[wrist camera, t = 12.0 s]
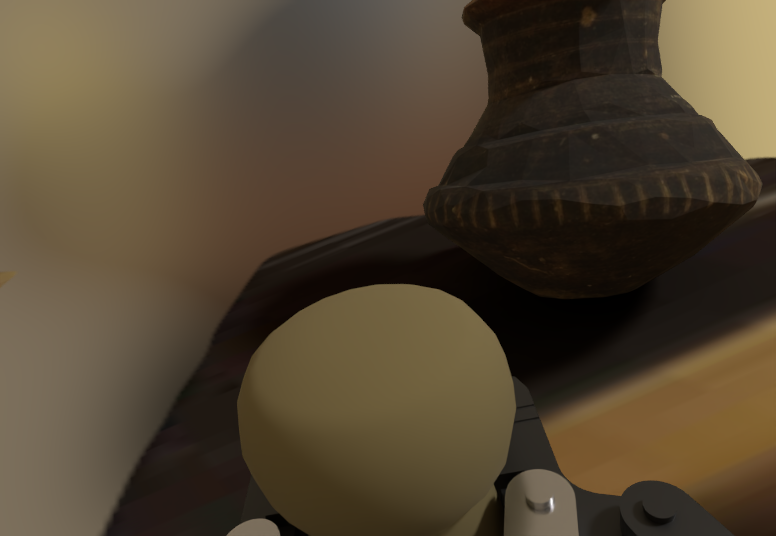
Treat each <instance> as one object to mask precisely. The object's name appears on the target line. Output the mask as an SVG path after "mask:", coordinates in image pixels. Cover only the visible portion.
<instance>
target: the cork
mask: <svg viewBox="0 0 776 536" xmlns="http://www.w3.org/2000/svg"><path fill="white" fill-rule="evenodd" d="M237 408H238V420H239V432H240V440H241V448H242V456H243V458H244V460H245V462H246V464H247V466H248V468H249V470H250V472H251V474H252V476H253V478H254V480H255V481H256V483H257V484H258V486H259V487H260V489H261V490H262V492H263V493H264V495H265V497H266V498H267V500H268V501H269V503H270V504H271V506H272V507H273V508H274V509H275V510H276V511H277V512H278V513H279V514H280V515H281V516H283V517H284V518H285V519H286V520H287V521H288V522H289V523H290V524H292V525H293V526H295V527H297V528H298V529H300V530H302V531H303V532H305V533H306V534H308V536H504V514H505V511H504V508H503V506H502V503H501V501H500V498H499V496H498V493H497V491H496V488H495V486H494V482H495V480H496V479H497V477H498V476H499V474H500V472H501V471H502V469H503V468H504V466H505V464H506V460H507V455H508V450H509V445H510V440H511V434H512V429H513V423H514V418H515V412H516V401H515V393H514V385H513V380H512V377H511V373H510V370H509V366H508V363H507V359H506V356H505V353H504V351H503V349H502V347H501V345H500V343H499V341H498V339H497V337H496V335H495V333H494V332H493V331H492V330H491V329H490V328H489V327H488V326H487V325H486V323H485V322H484V321H483V320H482V319H481V318H480V317H479V316H478V315H477V314H476V313H475V312H474V311H473V310H472V309H471V308H470V307H469V306H468V305H466V304H465V303H464V302H463V301H462V300H460V299H458V298H456V297H454V296H452V295H450V294H448V293H446V292H443V291H441V290H439V289H433V288H428V287H422V286H417V285H410V284H377V285H372V286H366V287H361V288H355V289H350V290H347V291H344V292H341V293H338V294H335V295H333V296H330V297H327V298H324V299H322V300H320V301H318V302H316V303H314V304H312V305H310V306H308V307H307V308H305V309H303V310H301V311H299V312H298V313H296V314H295V315H294V316H293V317H291V318H290V319H289V320H287V321H286V322H285V323H284V324H282V325H281V326H280V327H278V328H277V329H276V330H274V331H273V332H272V333H271V334H269V336H268V337H267V338H266V339H265V341H264V342H263V343H262V344H261V345H260V347H259V348H258V349H257V350H256V352H255V353H254V354H253V355H252V357H251V360H250V363H249V365H248V368H247V371H246V373H245V376H244V378H243V382H242V386H241V390H240V393H239V397H238V401H237Z"/></svg>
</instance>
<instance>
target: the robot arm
mask: <svg viewBox="0 0 776 536" xmlns="http://www.w3.org/2000/svg"><path fill="white" fill-rule="evenodd" d="M512 380H513V385H514V393H515V401H516V412H515V418H514V423H513V429H512V434H511V440H510V445H509V450H508V455H507V460H506V464H505V466H504V468H503V469H502V471H501V472H500V474H499V476H498V477H497V479H496V480H495V482H494V486H495V488H496V491H497V493H498V496H499V498H500V501H501V503H502V506H503V508H504V511H505V514H504V536H734V535H733V534H732V533H731V532H730V531H729V530H728V529H726V528H725V527H724V526H723V525H722V524H721V523H720V522H718V521H717V520H716V519H715V518H714V517H713V516H712V515H711V514H709V513H708V512H707V511H706V510H705V509H704V508H703V507H701V506H700V505H699V504H698V503H697V502H696V501H695V500H693V499H692V498H691V497H690V496H689V495H688V494H686V493H685V492H684V491H683V490H681V489H679V488H677V487H676V486H673V485H671V484H668V483H665V482H660V481H642V482H638V483H635V484H633V485H631V486H630V487H628V488H627V489H626V490H625V491H624V493H623V494H622V496H615V495H606V494H598V493H592V492H589V491H586V490H583V489H581V488H579V487H577V486H575V485H574V484H572V483H571V482H570V481H569V480H568V479H567V478H566V477H565V476H564V475H563V474H562V472H561V471H560V469H559V467H558V464H557V461H556V459H555V456H554V454H553V451H552V449H551V446H550V444H549V441H548V438H547V436H546V433H545V431H544V428H543V426H542V423H541V420H540V419H539V415H538V413H537V410H536V408H535V406H534V403H533V400H532V397H531V395H530V392H529V390H528V388H527V387H526V386H525V385H524V384H523V383H521V382H520V381H519V380H518V379H517V378H516V377H515V376H513V377H512ZM227 536H308V534H306V533H305V532H303V531H302V530H300V529H298V528H297V527H295V526H293V525H292V524H290V523H289V522H288V521H287V520H286V519H285V518H284V517H283V516H281V515H280V514H279V513H278V512H277V511H276V510H275V509H274V508H273V507H272V506H271V504H270V503H269V501H268V500H267V498H266V497H265V495H264V493H263V492H262V490H261V489H260V487H259V486H258V484H257V483H256V481H255V480H254V478H253V476H252V474H251V479H250V483H249V487H248V491H247V496H246V500H245V504H244V509H243V513H242V517H241V522H240V525H238V526H237V527H235V528H234V529H233V530H232V531H231V532H230V533H229V534H228V535H227Z"/></svg>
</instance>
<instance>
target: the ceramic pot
mask: <svg viewBox="0 0 776 536" xmlns="http://www.w3.org/2000/svg"><path fill="white" fill-rule="evenodd" d="M665 1H666V0H472V1H471V2H470V3H469V4H467V5H466V6H465V7H464V10H463V14H462V19H463V22H464V24H465V25H466V26H467V27H468V28H470V29H471V30H472V31H474V32H475V33H476V34H478V35H479V36H480V38H481V43H482V48H483V52H484V57H485V62H486V67H487V72H488V95H489V99H488V105H487V107H486V109H485V111H484V113H483V114H482V116H481V118H480V120H479V122H478V124H477V125H476V127H475V129H474V131H473V133H472V135H471V136H470V138H469V139H468V141H467V143H466V144H465V145H464V147H463V148H461V149H459V150H458V151H457V152H456V153H455V155H454V156H453V158H452V160H451V162H450V164H449V166H448V168H447V170H446V172H445V174H444V176H443V178H442V180H441V182H440V184H439V185H438V186H436V187H433V188H431V189H429V192H428V194H427V196H426V199H425V201H424V204H423V206H424V211H425V216H426V218H427V221H428V223H429V225H430V226H432V227H433V228H435V229H436V230H437V231H439V232H440V233H441V234H443V235H444V236H446V237H447V238H448V239H450V240H451V241H452V242H454V243H455V244H457V245H458V246H459V247H461V248H462V249H463V250H465V251H466V252H468V253H469V254H470V255H472V256H473V257H474V258H476V259H477V260H479V261H480V262H481V263H483V264H484V265H485V266H487V267H488V268H490V269H491V270H492V271H494V272H495V273H496V274H498V275H499V276H501V277H503V278H505V279H506V280H508V281H510V282H512V283H514V284H515V285H517V286H519V287H521V288H523V289H525V290H527V291H529V292H531V293H533V294H535V295H537V296H539V297H547V298H557V299H578V298H598V297H608V296H613V295H618V294H624V293H628V292H631V291H633V290H635V289H637V288H639V287H641V286H643V285H644V284H646V283H648V282H649V281H651V280H653V279H654V278H656V277H658V276H659V275H661V274H663V273H665V272H666V271H668V270H670V269H671V268H673V267H675V266H676V265H678V264H680V263H681V262H683V261H685V260H687V259H688V258H690V257H692V256H693V255H695V254H696V253H697V252H698V251H700V250H701V249H702V248H703V247H705V246H706V245H707V244H708V243H709V242H711V241H712V240H713V239H714V238H716V237H717V236H718V235H719V234H720V233H722V232H723V231H724V230H725V229H727V228H728V227H729V226H730V225H731V224H733V223H734V222H735V221H736V220H738V219H739V218H740V217H741V216H742V215H744V214H745V213H746V212H747V211H749V210H750V209H751V208H752V207H753V206H754V205H755V203H756V201H757V199H758V196H759V193H760V190H761V187H762V182H761V180H760V178H759V176H758V174H757V173H756V172H755V171H754V170H753V169H752V167H751V166H750V165H749V164H748V162H746V161H745V160H744V159H743V158H742V157H741V155H740V154H739V153H738V152H737V151H736V150H735V149H734V148H733V146H732V145H731V144H730V143H729V142H728V141H727V140H726V139H725V137H724V136H723V135H722V134H721V133H720V132H719V131H718V130H717V128H716V127H715V125H714V123H713V121H712V120H711V119H709V118H706V117H704V116H702V115H698V113H697V112H696V111H695V110H694V108H693V107H692V106H691V105H690V104H689V103H688V102H687V101H685V100H684V99H683V98H682V97H681V96H680V95H679V94H678V93H677V92H676V91H675V90H674V89H673V88H672V87H671V86H670V85H669V84H668V83H667V82H666V81H665V80H664V79H663V78H662V77H661V75H662V66H661V60H660V53H659V48H658V33H659V26H660V18H661V11H662V4H663V3H664V2H665Z"/></svg>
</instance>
